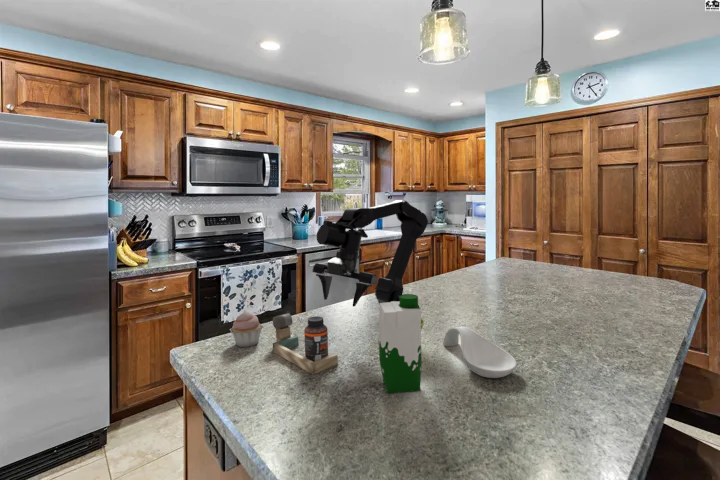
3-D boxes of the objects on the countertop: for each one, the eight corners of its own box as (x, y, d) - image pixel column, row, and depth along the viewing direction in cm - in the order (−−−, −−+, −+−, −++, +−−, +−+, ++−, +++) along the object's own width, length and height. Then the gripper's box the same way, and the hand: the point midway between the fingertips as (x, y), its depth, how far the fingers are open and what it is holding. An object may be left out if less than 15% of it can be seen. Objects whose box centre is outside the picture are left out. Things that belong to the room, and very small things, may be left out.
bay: (337, 364, 93) (337, 354, 93) (312, 374, 88) (312, 364, 88) (296, 344, 107) (296, 335, 107) (273, 351, 102) (272, 343, 102)
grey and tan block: (295, 342, 108) (294, 313, 107) (280, 347, 105) (278, 317, 104) (289, 339, 111) (287, 310, 110) (273, 344, 108) (272, 314, 107)
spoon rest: (527, 380, 83) (528, 349, 82) (483, 389, 80) (483, 357, 79) (467, 342, 106) (467, 318, 105) (430, 348, 102) (430, 323, 101)
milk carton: (425, 393, 78) (424, 301, 76) (383, 396, 77) (381, 303, 75) (415, 373, 87) (414, 291, 85) (377, 376, 86) (375, 292, 84)
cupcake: (253, 335, 115) (251, 304, 114) (269, 342, 109) (267, 309, 108) (225, 343, 109) (222, 311, 108) (239, 352, 102) (237, 317, 101)
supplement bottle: (324, 366, 92) (322, 322, 91) (302, 365, 93) (300, 321, 92) (331, 356, 98) (329, 315, 97) (309, 355, 99) (308, 314, 98)
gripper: (308, 242, 104) (297, 297, 103) (369, 252, 97) (358, 311, 96) (325, 246, 114) (316, 296, 113) (382, 256, 107) (372, 309, 106)
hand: (339, 302), depth 107 cm, fingers open, 9 cm apart
